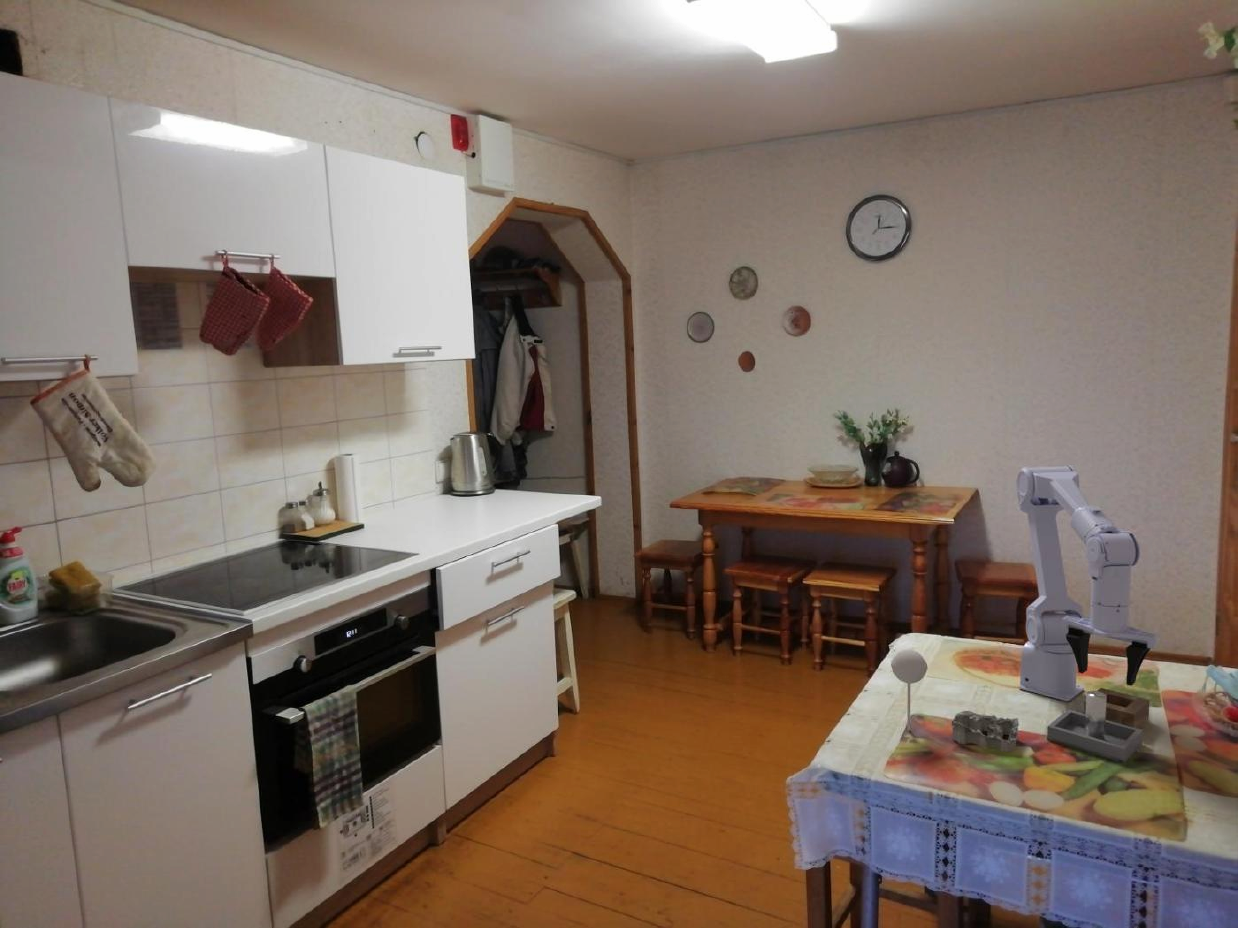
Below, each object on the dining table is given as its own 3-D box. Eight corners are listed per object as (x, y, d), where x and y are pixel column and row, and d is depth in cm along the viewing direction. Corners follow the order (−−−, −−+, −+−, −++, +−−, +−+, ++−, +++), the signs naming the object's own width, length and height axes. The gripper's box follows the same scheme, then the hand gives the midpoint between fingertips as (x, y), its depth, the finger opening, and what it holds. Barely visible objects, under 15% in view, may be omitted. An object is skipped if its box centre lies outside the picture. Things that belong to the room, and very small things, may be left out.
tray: (1046, 739, 148) (1047, 726, 148) (1067, 722, 154) (1068, 709, 154) (1123, 763, 139) (1124, 748, 139) (1142, 743, 145) (1142, 730, 145)
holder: (1083, 722, 154) (1084, 701, 153) (1100, 707, 159) (1101, 687, 158) (1133, 736, 148) (1134, 714, 147) (1148, 720, 153) (1149, 699, 152)
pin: (1081, 738, 147) (1083, 694, 146) (1088, 732, 149) (1090, 689, 148) (1100, 744, 144) (1102, 699, 143) (1107, 738, 146) (1109, 694, 145)
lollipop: (928, 725, 155) (929, 646, 153) (925, 740, 150) (926, 658, 148) (892, 720, 158) (893, 642, 155) (888, 734, 152) (888, 654, 150)
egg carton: (948, 743, 149) (948, 721, 148) (956, 725, 155) (956, 704, 155) (1015, 756, 143) (1015, 733, 143) (1020, 737, 150) (1021, 715, 149)
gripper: (1055, 598, 149) (1053, 672, 151) (1149, 617, 138) (1145, 696, 140) (1072, 589, 153) (1069, 661, 155) (1164, 606, 142) (1159, 683, 144)
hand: (1106, 677), depth 148 cm, fingers open, 7 cm apart
